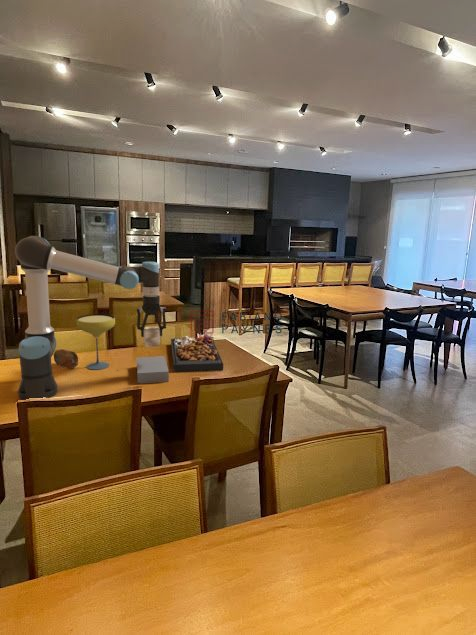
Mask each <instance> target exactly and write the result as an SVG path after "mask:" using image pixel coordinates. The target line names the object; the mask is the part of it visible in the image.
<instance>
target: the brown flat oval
mask: <svg viewBox="0 0 476 635" xmlns="http://www.w3.org/2000/svg"><path fill="white" fill-rule="evenodd" d="M53 360H54V363H55V364H56V365H57V366H58V365H60V366H59V367H61V366H63V367H62V368H65V367H66V369H69V370H71V369H73V368H76V367H77V366H78V364H79V356H78V355H77V353H76V352H75V351H71V350H67V349H63V348H62V349H57V350H56V349H55V351H54V353H53Z"/></svg>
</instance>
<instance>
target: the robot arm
mask: <svg viewBox="0 0 476 635" xmlns="http://www.w3.org/2000/svg"><path fill="white" fill-rule="evenodd" d="M14 254H15V256H16V260H18V261H19V262H20V269H21V270H22V271H23V272H24V274H25V275H24V276H25V277H24V278H25V289H26V290H25V291H26V304H27V319H28V320H27V321H28V327H27V328H26V329H25V330H24V334H25V335H24V336H25V338H24V339H22V340H21V341H20V342H19V343H18V353H19V355H18V356H19V364H20V375H21V379H20V382H19V385H18V386H19V387H18V391H17V394H18V395H17V396H18V398H19V399H20V398H21V399H20V400H23V399H29V398H43V397H49V398H52V397H54V396H55V395H56V394H58V391H59V388H58V384H57V381H56V380H55V377H54V375H53V367H52V357H53V356H54V353H55V351H56V349H57V340H56V336H55V335H56V334H55V328H54V327H52V326H51V316H50V315H51V314H50V297H49V296H50V295H49V294H50V293H49V279H48V278H49V277H48V276H49V275H48V272H50V270H51V269H52V270H56V271H60V272H64V273H67V274H71V275H72V274H73V275H75V276H80V277H85V278H88V279H91V280H96V281H100V282H105V283H108V284H112V285H116V286H119V287H123V288H124V289H126V290H133V289H135V288H136V287H137V286H138V285H139V284H141V283H142V295H143V296H142V307H137V308H136V312H137V322H136V330H138V331H140V336H141V338H143V344H144V345H145V344H146V339H145V326H146V324H147V320H148V317H149V316H154V317H155V319H156V322H157V324H158V326H157V327H158V330H159V345H160V344H161V337H162V336H163V330H164V329H166V328H167V321H166V319H167V318H166V311H167V308H166V307H165V306H164V307H162V306H160V296H159V295H160V268H159V267H160V266H159V265H160V264H159V263H158V262H156V261H143V262H142V263H141V266H128V265H127V266H125V265H122V266H116V265H113V264H109V263H105V262H101V261H97V260H93V259H89V258H88V257H87V258H85V257H82V256H79V255H75V254H71V253H68V252H63V251H60V250H56V248H55V247H54V246H52V245H51V244H50V243H49V241H48V240H47V239H45V238H44V237H42V236H39V235H30V236H27V237H24V238H21V239H20V240H19V241H18V242H17V243H16V246H15V248H14ZM159 311H160V312H161V315H162V323H161V321H160V318H159V316H158V313H159ZM142 312H144V313H145V314H144V317H143V321H142V323H141V313H142Z"/></svg>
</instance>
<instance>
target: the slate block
mask: <svg viewBox="0 0 476 635" xmlns="http://www.w3.org/2000/svg"><path fill="white" fill-rule="evenodd" d="M167 364H168V363H167V360H166V356H164V355H163V356H159V355H158V356H142V357H139V356H138V357H136V372H137V377H136V378H137V384H151V383H167V382H169V381H170V378H169V377H170V376H169V375H170V374H169V373H170V372H169V368H168V365H167Z"/></svg>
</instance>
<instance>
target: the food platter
mask: <svg viewBox="0 0 476 635" xmlns="http://www.w3.org/2000/svg"><path fill="white" fill-rule="evenodd" d="M212 332H213V331H211V333H210V335H209V334H208V333H204V334H203V336H202V333H201V332H200V333H199V337H189V336H188V335H186V336H184V335H183V336H182V337H177V338H176V337H175V338H170V347H171V348H170V349H171V356H172V358H171V359H172V364H173V365H172V366H173V372H174V373H185V372H188V373H191V372H213V371H212V370H219V371H224V362H223V360H222V358H221V356H220V353H219V351H218V349H217V346H216V344H215V341H214V340H213V337H212ZM209 370H211V371H209Z"/></svg>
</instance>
